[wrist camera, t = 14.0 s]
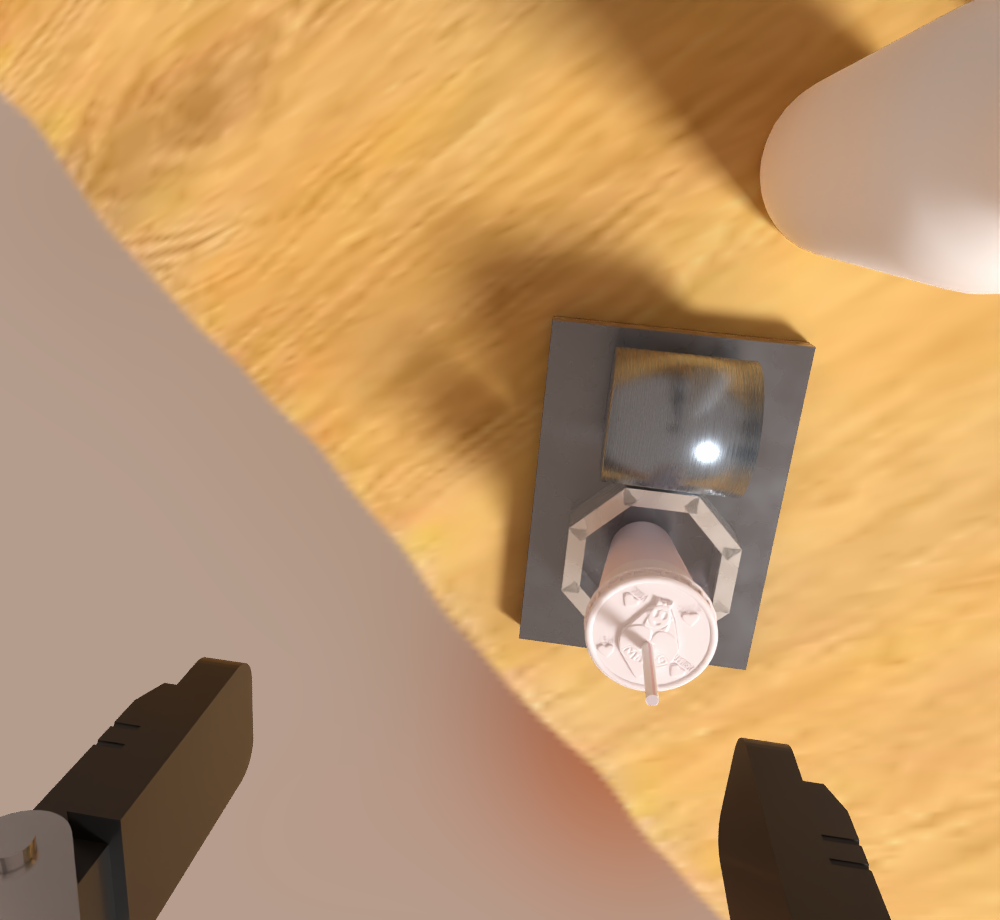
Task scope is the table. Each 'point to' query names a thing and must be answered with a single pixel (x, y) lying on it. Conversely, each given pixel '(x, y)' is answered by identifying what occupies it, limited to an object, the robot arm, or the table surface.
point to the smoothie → (649, 615)
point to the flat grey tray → (661, 465)
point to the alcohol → (900, 157)
